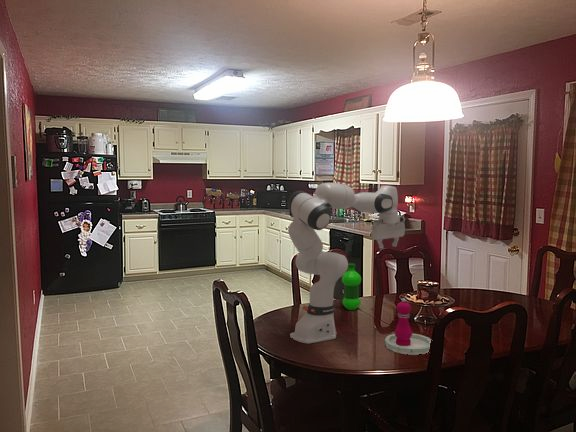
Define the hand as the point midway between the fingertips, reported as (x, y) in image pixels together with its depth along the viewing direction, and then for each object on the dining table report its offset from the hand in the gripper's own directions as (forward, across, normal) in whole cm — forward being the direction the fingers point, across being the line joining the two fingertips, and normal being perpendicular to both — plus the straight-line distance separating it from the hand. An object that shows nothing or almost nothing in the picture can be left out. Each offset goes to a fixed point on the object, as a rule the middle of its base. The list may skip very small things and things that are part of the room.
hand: (388, 247), depth 234 cm
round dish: (+39, -13, -24) cm, 48 cm away
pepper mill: (+38, -14, -22) cm, 46 cm away
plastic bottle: (+39, +8, +33) cm, 52 cm away
